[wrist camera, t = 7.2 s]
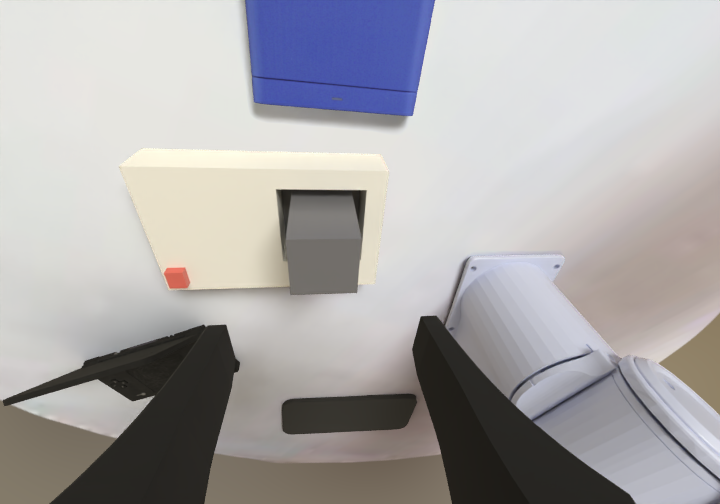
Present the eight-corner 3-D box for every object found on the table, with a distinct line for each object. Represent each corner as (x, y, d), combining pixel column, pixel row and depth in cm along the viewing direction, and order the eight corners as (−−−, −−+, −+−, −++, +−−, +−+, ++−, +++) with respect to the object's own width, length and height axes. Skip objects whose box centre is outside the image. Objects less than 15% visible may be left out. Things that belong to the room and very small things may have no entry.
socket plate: (369, 261, 23) (375, 289, 21) (182, 265, 22) (165, 296, 19) (381, 154, 19) (391, 174, 16) (142, 148, 17) (113, 170, 14)
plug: (347, 230, 21) (357, 292, 16) (295, 230, 21) (290, 294, 16) (349, 183, 19) (361, 238, 14) (292, 182, 19) (285, 239, 14)
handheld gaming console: (149, 419, 30) (31, 502, 20) (114, 351, 30) (-19, 399, 20) (252, 361, 29) (184, 418, 19) (216, 293, 29) (130, 313, 19)
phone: (281, 402, 33) (419, 397, 35) (282, 394, 34) (417, 390, 36) (282, 435, 37) (405, 429, 40) (283, 427, 38) (403, 422, 40)
